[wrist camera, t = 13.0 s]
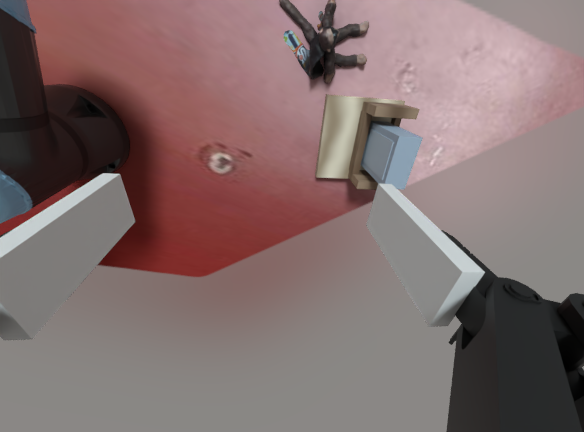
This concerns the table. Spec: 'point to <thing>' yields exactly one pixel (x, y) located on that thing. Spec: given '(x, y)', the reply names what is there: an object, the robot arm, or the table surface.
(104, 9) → the table surface
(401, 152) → the light blue rectangular block
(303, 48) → the stuffed animal
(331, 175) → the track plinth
